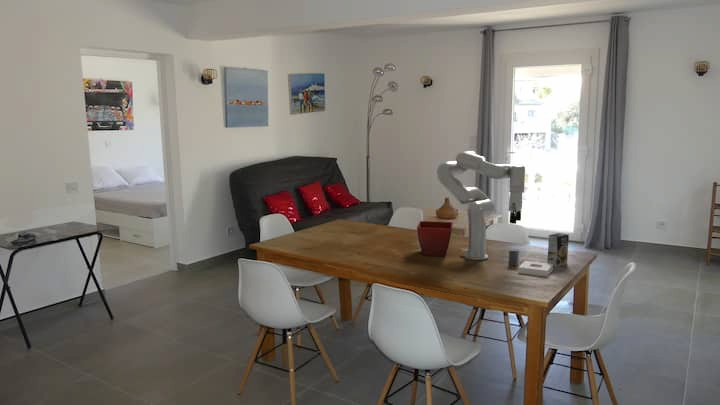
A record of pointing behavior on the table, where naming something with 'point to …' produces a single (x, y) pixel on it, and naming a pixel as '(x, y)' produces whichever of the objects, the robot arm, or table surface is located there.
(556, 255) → the coffee box
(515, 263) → the dark grey rectangular block
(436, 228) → the plant pot
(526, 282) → the table surface
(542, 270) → the outlet
